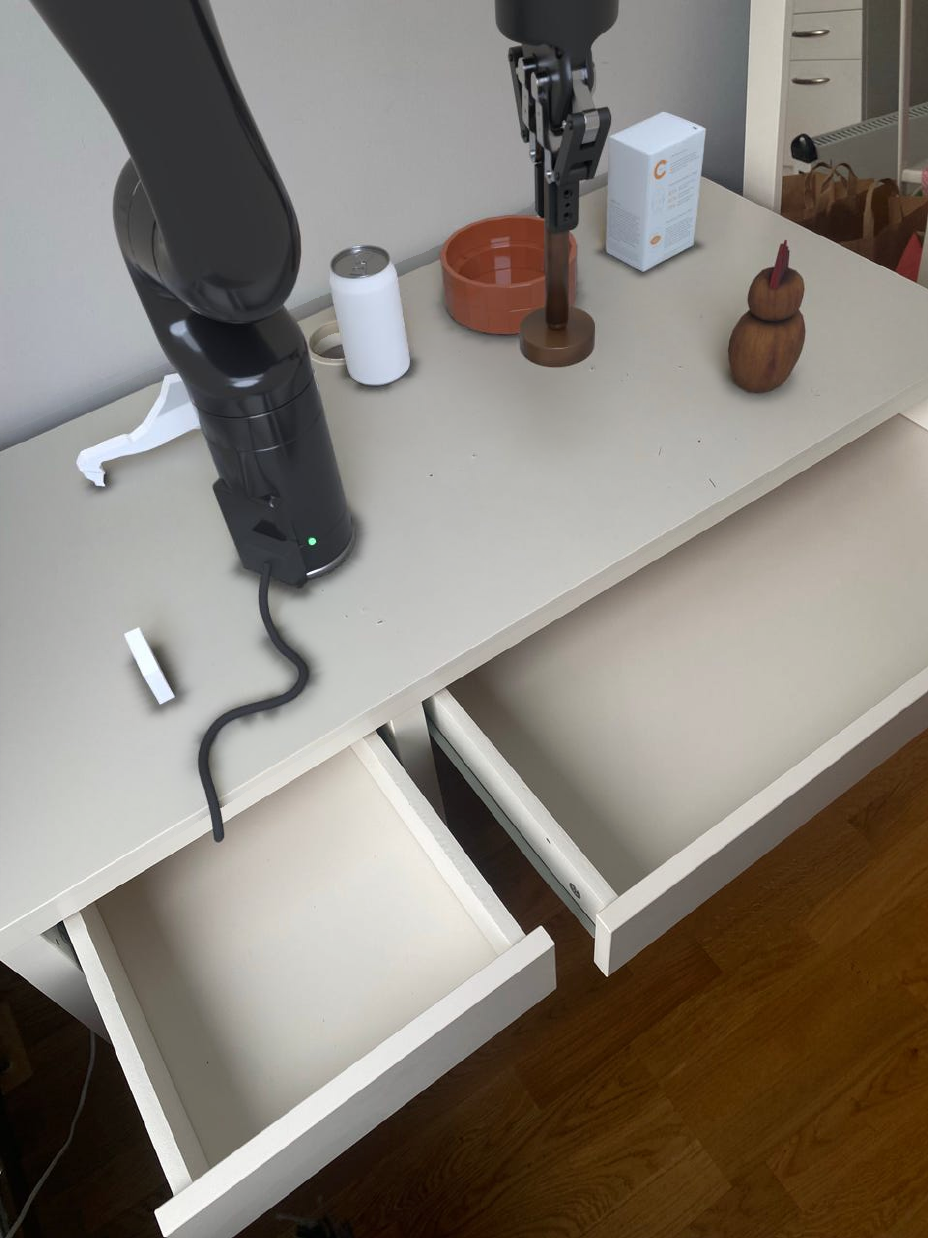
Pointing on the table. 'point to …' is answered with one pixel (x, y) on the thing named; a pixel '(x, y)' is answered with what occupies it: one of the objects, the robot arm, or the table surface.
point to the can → (369, 314)
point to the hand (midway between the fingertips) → (556, 220)
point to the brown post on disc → (556, 312)
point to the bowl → (499, 272)
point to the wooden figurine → (769, 328)
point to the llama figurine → (145, 430)
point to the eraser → (149, 665)
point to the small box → (653, 189)
